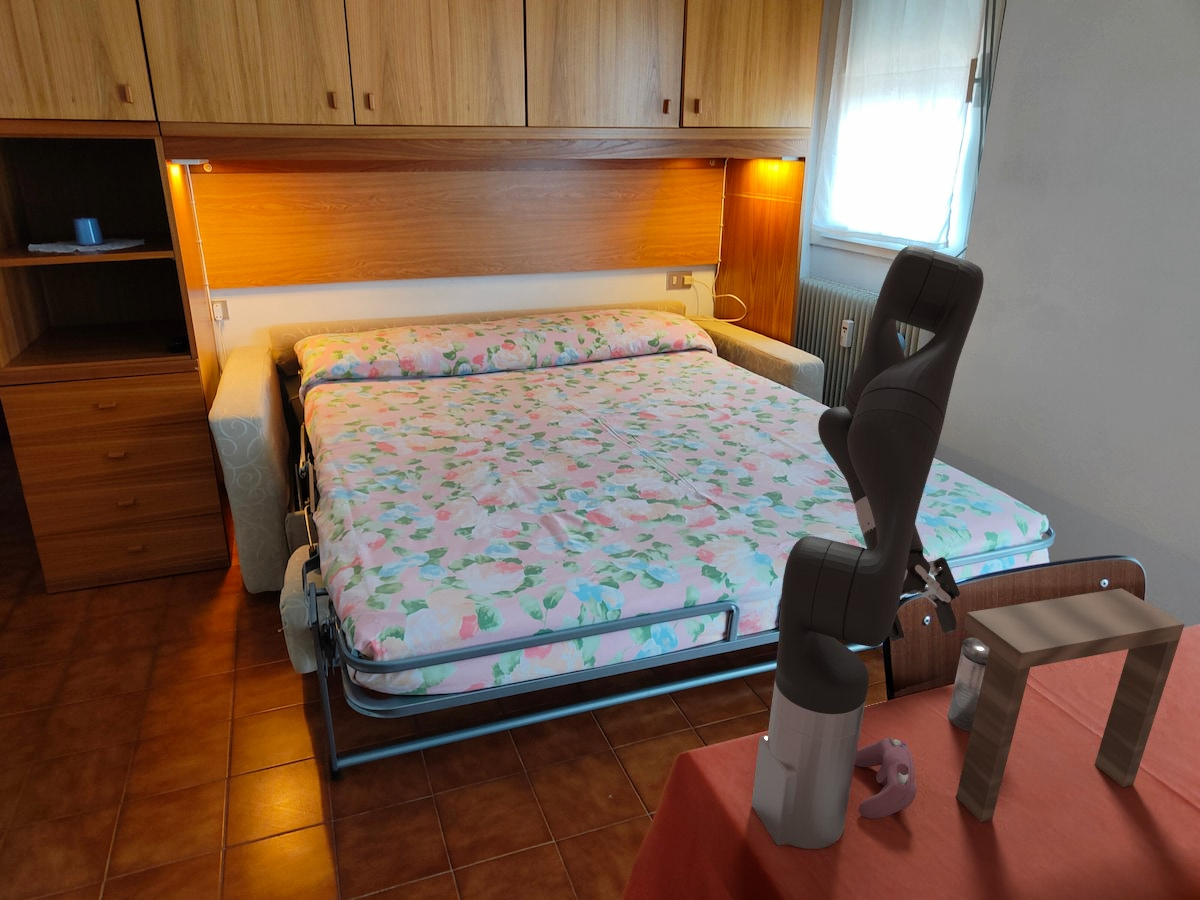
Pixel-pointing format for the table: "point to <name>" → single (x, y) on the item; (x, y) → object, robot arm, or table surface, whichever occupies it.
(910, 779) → the video game controller
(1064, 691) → the table surface
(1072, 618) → the walnut shelf
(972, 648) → the salt shaker
